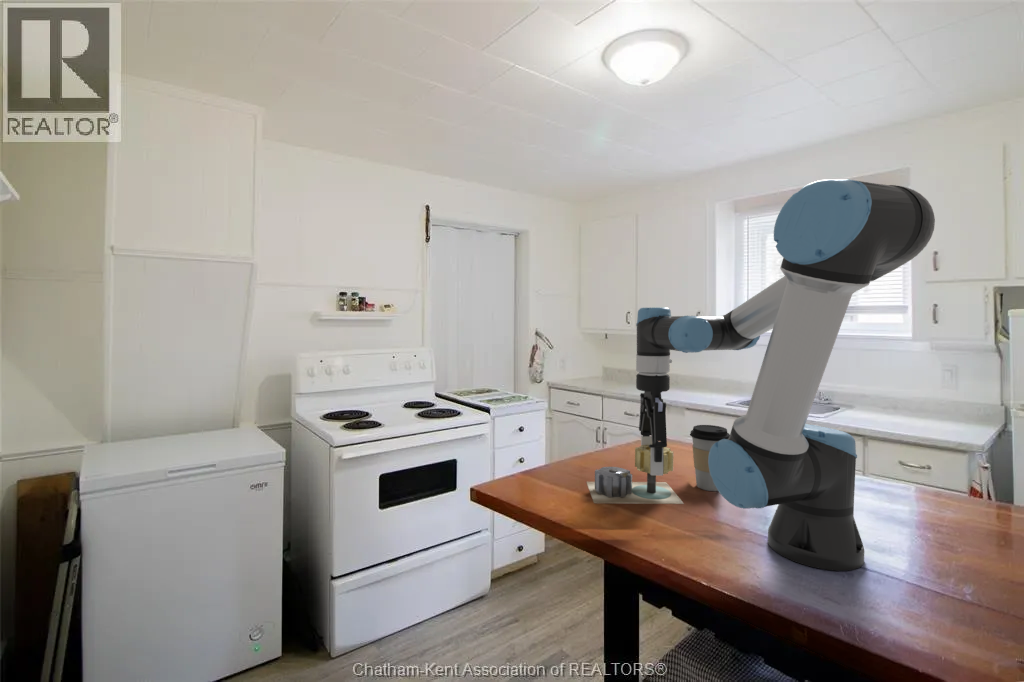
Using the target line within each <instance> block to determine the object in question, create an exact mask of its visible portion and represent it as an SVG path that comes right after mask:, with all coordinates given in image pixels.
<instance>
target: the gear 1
mask: <svg viewBox="0 0 1024 682" xmlns="http://www.w3.org/2000/svg"><path fill="white" fill-rule="evenodd" d="M610 469H616V470H618V472H615V473H613V472H609V470H610ZM594 482H595V489H596V492H597V493H598V494H602V495H605V496H607V497H626V495H627V494H631V493H632V482H633V474H632V473H631V470H629V469H625V468H623V467H619V466H603V467H600V468H599V469H597V468H596V469H595V470H594Z"/></svg>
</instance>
